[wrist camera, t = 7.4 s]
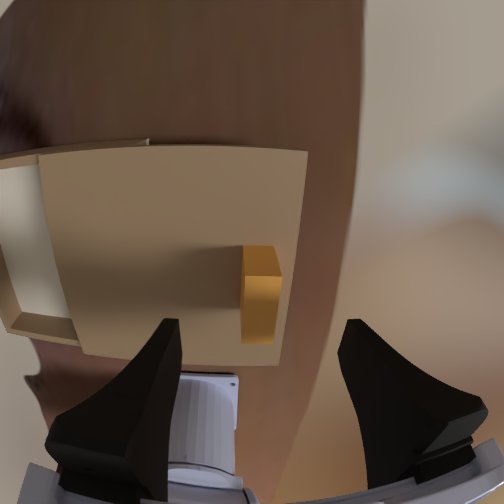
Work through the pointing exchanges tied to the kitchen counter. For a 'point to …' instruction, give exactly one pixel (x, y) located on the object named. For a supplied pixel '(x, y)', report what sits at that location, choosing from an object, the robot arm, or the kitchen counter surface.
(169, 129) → the kitchen counter surface
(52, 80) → the kitchen counter surface
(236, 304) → the lid panel
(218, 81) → the kitchen counter surface
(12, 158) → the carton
